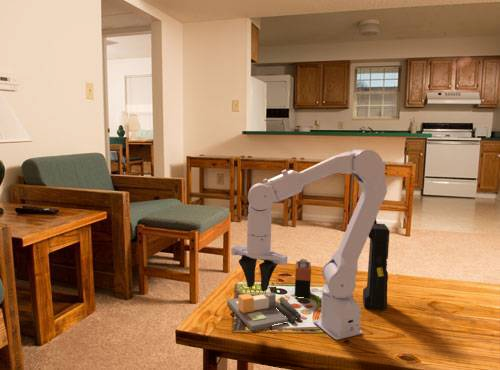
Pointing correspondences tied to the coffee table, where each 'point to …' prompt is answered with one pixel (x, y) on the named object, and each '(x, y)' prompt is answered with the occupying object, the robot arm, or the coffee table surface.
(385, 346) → the coffee table surface
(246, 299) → the lever
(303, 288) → the battery
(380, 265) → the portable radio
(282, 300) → the dark grey rounded rod
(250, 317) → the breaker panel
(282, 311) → the dark grey rod
